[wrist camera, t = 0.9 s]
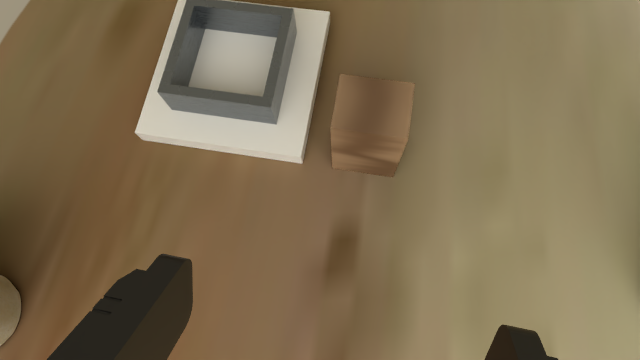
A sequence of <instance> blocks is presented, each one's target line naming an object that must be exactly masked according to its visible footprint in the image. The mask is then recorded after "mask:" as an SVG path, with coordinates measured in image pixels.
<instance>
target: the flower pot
mask: <svg viewBox="0 0 640 360" xmlns="http://www.w3.org/2000/svg"><path fill="white" fill-rule="evenodd" d="M20 314H21V298H20V294H19V292H18V291H17V289H16V288H15V287H14V286H13V284H12V283H11V282H10V281H9V280H8V279H7V278H6V277H4V276H2V275H0V346H1V345H2V344H3V343H4V342H5V341H6V340H7V339H8V338H9V337H10V336H11V335H12V334H13V332H14V331H15V329H16V326H17V324H18V322H19V318H20Z"/></svg>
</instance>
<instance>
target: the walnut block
mask: <svg viewBox="0 0 640 360" xmlns="http://www.w3.org/2000/svg"><path fill="white" fill-rule="evenodd" d="M414 87H415V83H409V82H401V81H393V80H385V79H378V78H370V77H362V76H354V75H346V74H340V77H339V82H338V88H337V94H336V99H335V105H334V110H333V116H332V121H331V127H330V131H331V151H332V168H334V169H340V170H347V171H354V172H361V173H367V174H374V175H381V176H388V177H393V176H394V174H395V171H396V169H397V166H398V164H399V161H400V158H401V156H402V153H403V151H404V148H405V146H406V143H407V141H408V138H409V129H410V121H411V112H412V104H413V96H414Z"/></svg>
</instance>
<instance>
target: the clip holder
mask: <svg viewBox="0 0 640 360" xmlns="http://www.w3.org/2000/svg"><path fill="white" fill-rule="evenodd" d="M329 26H330V12H327V11H318V10H310V9H301V8H292V7H283V6H275V5H266V4H257V3H248V2H239V1H231V0H178V2H177V5H176V8H175V11H174V14H173V18H172V21H171V24H170V27H169V30H168V33H167V36H166V39H165V42H164V45H163V48H162V51H161V54H160V57H159V60H158V63H157V67H156V70H155V73H154V76H153V79H152V82H151V85H150V88H149V91H148V94H147V97H146V100H145V103H144V106H143V109H142V112H141V116H140V119H139V122H138V125H137V128H136V131H135V133H136V134H137V135H138V136H139V137H140V138H141V139H142V140H146V141H153V142H160V143H167V144H173V145H180V146H187V147H194V148H200V149H207V150H214V151H221V152H227V153H234V154H241V155H247V156H254V157H261V158H268V159H274V160H281V161H288V162H295V163H301V164H303V159H304V154H305V149H306V144H307V139H308V133H309V128H310V123H311V118H312V113H313V108H314V103H315V98H316V93H317V87H318V82H319V77H320V72H321V67H322V62H323V57H324V52H325V46H326V41H327V36H328V31H329Z"/></svg>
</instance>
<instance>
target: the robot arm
mask: <svg viewBox="0 0 640 360" xmlns="http://www.w3.org/2000/svg"><path fill="white" fill-rule="evenodd" d="M192 304H193V292H192V262H191V260H190V259H186V258H181V257H176V256H171V255H167V254H161V255H159V256H158V257H157V258H156V260H155V261H154V262H153V263H152V264H151V266H150V267H149V268H148V269H147V270H146V271H144V270H139V269H136V270H134V271H133V272H131V273H129V274H127V275H126V276H124V277H122V278H121V279H119V280H117V282H116V283H115V284H114V285H113V286H112V287H111V288H110V289H109V290H108V292H107V293H106V294H105V295H104V298H103V299H100V301H99V302H98V303H97V304H96V305H95V306H94V307H93V310H92V311H91V312H89V313H88V314H87V315H86V316H85V317H84V318H83V320H82V321H81V322H80V323H79V324H78V325H77V326H76V327H75V328H74V330H73V331H72V332H71V333H70V334H69V335H68V336H67V337H66V339H65V340H64V341H63V342H62V343H61V344H60V345H59V346H58V347H57V349H56V350H55V351H54V352H53V353H52V354H51V355H50V356H49V358H48V359H47V360H167V358H168V356H169V355H170V353H171V351H172V350H173V348H174V346H175V344H176V343H177V341H178V339H179V338H180V336H181V334H182V332H183V331H184V329H185V327H186V325H187V323H188V321H189V318H190V315H191V311H192ZM485 360H558V359H557V358H554V357H549V356H547V355H546V352H545V350H544V348H543V345H542V343H541V340H540V338H539V336H538V334H537V333H536V332H535V331H532V330H527V329H522V328H517V327H513V326H508V325H501V326H500V327H499V329H498V331H497V333H496V335H495V337H494V340H493V342H492V344H491V346H490V349H489V351H488V353H487V355H486V358H485Z"/></svg>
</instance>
